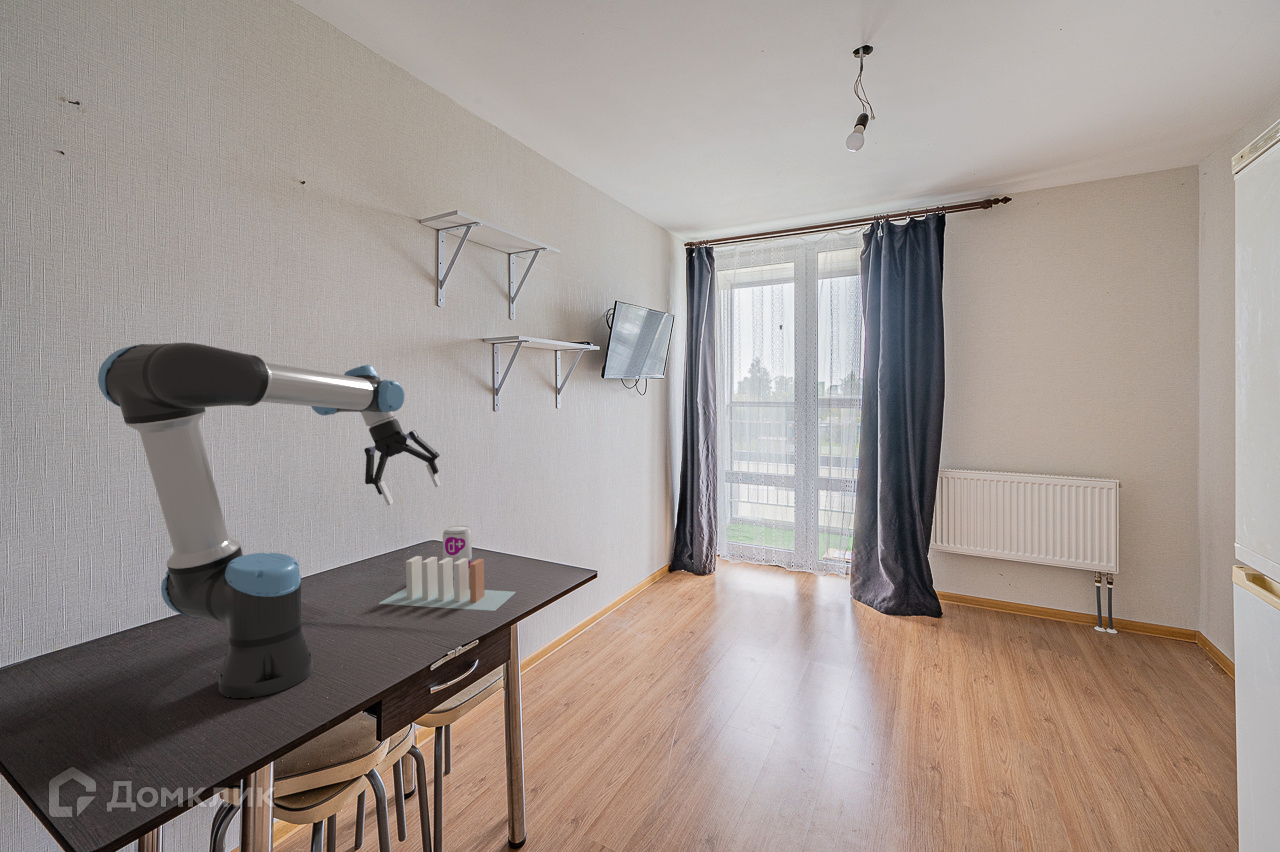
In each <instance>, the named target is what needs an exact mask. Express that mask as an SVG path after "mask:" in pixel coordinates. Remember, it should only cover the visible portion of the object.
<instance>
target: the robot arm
mask: <svg viewBox="0 0 1280 852" xmlns="http://www.w3.org/2000/svg"><path fill="white" fill-rule="evenodd" d="M97 382H98V387H99V389H100V392H101V393H102V395H103V396H104V398H105V399H106V400H107V401H108V402H111V403H112V404H113V405H114V406H117V407H119V408H120V411H121V414H122V418H123V420H124V421H123V422H124V424H125V425H126V426H128V427H130V428H131V429H133V430H135V431H138V433H139V435H140V438H141V443H142V445H143V449H144V452H145V455H146V459H147V463H148V465H149V470H150V474H151V477H152V479H153V480H152V481H153V483H154V487H155V491H156V493H157V497H158V501H159V504H160V508H161V512H162V514H163V518H164V521H165V525H166V528H167V532H168V535H169V538H170V542H171V546H172V549H173V553H172V554H171V555H170V557H169V558H168V559H167V561H166V567H167V570H166V572H165V577H164V578H163V579H162V581H161V589H160V593H161V596H162V599H163V601H164V603H165V604H166V606H167V607H168V608H169V609H170V610H172V611H173V612H175V613H177V614H179V615H182V616H184V617H187V618H193V619H203V620H204V619H205V620H212V621H214V622H215V621H216V622H222V623H227V628H228V629H227V631H228V632H227V633H228V650H227V653H226V656H225V658H224V662H223V665H222V670H221V672H220V673H219V677H218V692H220V693H221V694H222V695H221V694H220V693H219V694H220V695H221V696H223V695H224V696H223V697H225V696H228V697H232V698H231V699H237V698H243V699H250V697H254V698H259V697H264V696H267V695H268V696H269V695H271V694H276V693H280V692H282V691H284V690H285V691H286V690H287V689H289V688H292V687H294V686H296V685H298V684H300V683H302V682H303V681H304V680H306V679H308V678H309V676H310V675H311V674H312V673H313V671H314V661H313V659H314V658H313V655H312V653H311V652H310V651H309V649H308V645H307V642H306V640H305V637H304V635H303V631H302V589H301V584H302V582H301V581H302V576H301V574H300V565H299V563H298V561H297V560H296V559H295V558H294V557H292V556H290V555H287V554H285V553H284V554H283V553H278V552H270V553H265V552H255V553H249V554H243V550H242V547H241V543H240V541H238V540H236V539H234V538H231V537H229V534H228V531H227V525H226V523H225V519H224V515H223V512H222V508H221V504H220V500H219V495H218V492H217V490H216V489H217V488H216V485H215V481H214V477H213V474H212V469H211V466H210V463H209V458H208V454H207V451H206V446H205V444H204V439H203V435H202V432H201V431H202V430H201V428H200V425H199V423H200V422H199V421H200V420H201V419H202V417H204V415H205V414H206V413H207V412H206V408H211V407H228V406H242V407H243V406H244V407H253V406H256V405H258V404H260V403H270V404H271V403H272V404H283V405H293V406H294V405H297V406H305V407H307V406H308V407H311V409H312V410H313V412H315V413H316V414H318V415H320V416H330V415H335V414H338V413H342V412H343V413H348V412H349V413H360V414H361V416H362V418H363V421H364V423H365V425H366V426H367V427H369V428H368V431H369V434H370V437H371V438H372V440H373V442H374V446H368V447H365V448H364V450H363V451H364V453H365V473H364V474H365V476H364V477H365V479H364V482H365V484H366V485H373V486H374V487H375V489H376V492H377V493H378V495H380V496H381V495H382V496H383V499H384V501H385V503H386V505H387V506H390V505H392V504H393V503H394V499H393V498H392V494H391V493H390V491H389V489H388V486H387V484H386V482H385V480H382V477H383V473H384V470H385V467H386V465H387V464H386V463H387V461H388V459H389V458H391V457H395V456H396V455H400V454H403V453H408V454H409V455H412V456H413V457H415V458H417V459H420V460H421V461H424V462H425V463H427V464H425V466H426V469H427V471H428V474H429V476H430V478H431V480H432V482H433V485H434V487H435V488H438V487H440V486H441V482H440V479H439V477H438V475H437V474H438V473H439V469H438V466H437V463H436V460H437V459H438V458H439V457H440V453H439V452H438V451H437V450H435V449H434V448H433V447H432V446H431V445H429V444H428V443H427V442H426V441H425V440H424V439H423V438H421V437H420V435H419V434H418V433H417V431H416V430H415V429H414V430H410V431H409V432H408V433H406V434H405V433H404V432H403V429H402V427H401V424H400V422H399V421H398V419H397V418H394V417H396V414H395V412H397V411H398V410H400V409H401V408H402V407H403V405H404V402H405V391H404V388H403V386H402V385H401V384H400V383H399V382H398V381H396V380H388V379H382V380H381V378H380V376H379V374H378V372H377V371H376V370H375V368H374V366H372V365H371V364H364V365H361V366H357V367H354V368H351V369H349V370H346V371H345V372H344V373H343V374H340V373H339V374H338V373H333V372H332V373H331V372H326V371H320V370H314V369H308V368H301V367H294V366H288V365H282V364H278V363H277V364H276V363H269V362H265V360H264V359H263V358H261V357H260V356H258V355H253V354H248V353H242V352H238V351H234V350H229V349H224V348H219V347H215V346H211V345H205V344H201V343H194V342H173V343H149V344H148V343H147V344H146V343H141V344H136V345H131V346H126V347H123V348H120V349H118V350H115V351H114V352H113V353H111V354H109V355H108V356H107V358H105V360H104V361H103V362H102V363H101V366H100V368H99V370H98V374H97ZM407 440H410V441H413V442H414V443H415V444H416V445H417V446H418V447H420V448H421V450H419V449H417V448H415V447H413V446H412V445H411V444H409V443H408V442H407ZM422 450H423V451H424V452H422ZM376 451H377V452H378V453H380V455H379V458H378V460H379V461H378V463H377V467H376V469H375V454H376ZM374 469H375V470H374ZM374 471H375V473H374ZM228 697H227V698H228Z"/></svg>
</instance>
